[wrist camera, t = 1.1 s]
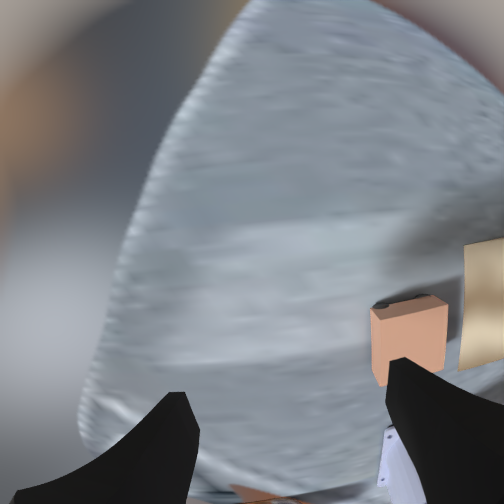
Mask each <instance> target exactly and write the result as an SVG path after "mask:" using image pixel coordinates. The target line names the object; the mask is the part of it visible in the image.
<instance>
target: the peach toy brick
mask: <svg viewBox="0 0 504 504" xmlns="http://www.w3.org/2000/svg"><path fill="white" fill-rule="evenodd" d="M370 315H371V340H372V371H373V373H374V375H375V377H376V380H377V382H378V384H379V386H380V387H381V386H386V385H387V383H388V372H389V361H391V360H395V359H399V358H402V357H406V358H408V359H410V360H411V361H413V362H415V363H416V364H418V365H420V366H421V367H423V368H425V369H426V370H428V371H430V372H431V373H434V372H437V371H440V370H443V367H444V359H445V349H446V338H447V322H448V304H447V303H445V302H444V301H442V300H440V299H439V298H437V297H436V296H434V295H428V294H421V295H418V296H416V299H412V300H408V301H403V302H398V303H394V304H387V303H378V304H375V305H373V308H370Z"/></svg>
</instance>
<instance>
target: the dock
mask: <svg viewBox="0 0 504 504" xmlns="http://www.w3.org/2000/svg"><path fill="white" fill-rule="evenodd" d="M464 266H465V292H464V316H463V330H462V341H461V350H460V358H459V365H458V371H462V370H466V369H470V368H473V367H477V366H480V365H484V364H487V363H490V362H494V361H497V360H500V359H503V358H504V237H502V238H498V239H493V240H488V241H483V242H478V243H473V244H468V245H464Z"/></svg>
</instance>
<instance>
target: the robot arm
mask: <svg viewBox="0 0 504 504" xmlns="http://www.w3.org/2000/svg"><path fill="white" fill-rule="evenodd" d="M385 403H386V406H387V409H388V412H389V415H390V418H391V420H392V423H393V425H394V426H393V427H389V428H387V429H386V430H385V432H384V441H383V448H382V456H381V462H380V469H379V475H378V480H377V486H378V487H382V486H386V485H387V488H388V492H389V495H390V499H391V503H392V504H504V405H502V404H498V403H495V402H492V401H489V400H486V399H483V398H481V397H478V396H476V395H473V394H471V393H469V392H467V391H465V390H463V389H460V388H458V387H456V386H454V385H453V384H451V383H449V382H447V381H445V380H443V379H442V378H440V377H438V376H436V375H435V374H433V373H431V372H430V371H428V370H426V369H425V368H423V367H421V366H420V365H418V364H416V363H415V362H413V361H411V360H410V359H408V358H406V357H402V358H399V359H395V360H391V361H389V372H388V383H387V392H386V400H385ZM389 435H390V436H389ZM199 436H200V428H199V426H198V424H197V421H196V419H195V416H194V414H193V412H192V409H191V407H190V404H189V401H188V399H187V396H186V394H185V392H169V393H168V394H167V395H166V396H165V397H164V398H163V399H162V400H161V401H160V402H159V403H158V404H157V405H156V406H155V407H154V408H153V409H152V410H151V411H150V412H149V413H148V414H147V415H146V416H145V417H144V418H143V419H142V420H141V421H140V422H139V423H138V424H137V425H136V426H135V427H134V428H133V429H132V430H131V431H130V432H129V433H128V434H126V435H125V436H124V437H123V438H122V439H121V440H120V441H118V442H117V443H116V444H115V445H114V446H112V447H111V448H110V449H109V450H107V451H106V452H105V453H103V454H102V455H100V456H99V457H97V458H96V459H94V460H93V461H91V462H89V463H88V464H86V465H84V466H82V467H81V468H79V469H77V470H75V471H73V472H71V473H69V474H67V475H65V476H63V477H60V478H58V479H55V480H53V481H50V482H48V483H44V484H41V485H38V486H34V487H30V488H26V489H22V490H18V491H17V492H16V493H15V495H14V496H13V498H12V500H11V501H10V503H9V504H186V499H187V495H188V491H189V487H190V483H191V479H192V475H193V471H194V467H195V463H196V459H197V454H198V447H199Z"/></svg>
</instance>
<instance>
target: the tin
mask: <svg viewBox="0 0 504 504" xmlns="http://www.w3.org/2000/svg"><path fill="white" fill-rule="evenodd" d="M240 504H302V503H300V502H298V501H296V500H293V499H288V498H274V499H269V500H262V501H256V502H248V503H240Z"/></svg>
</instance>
